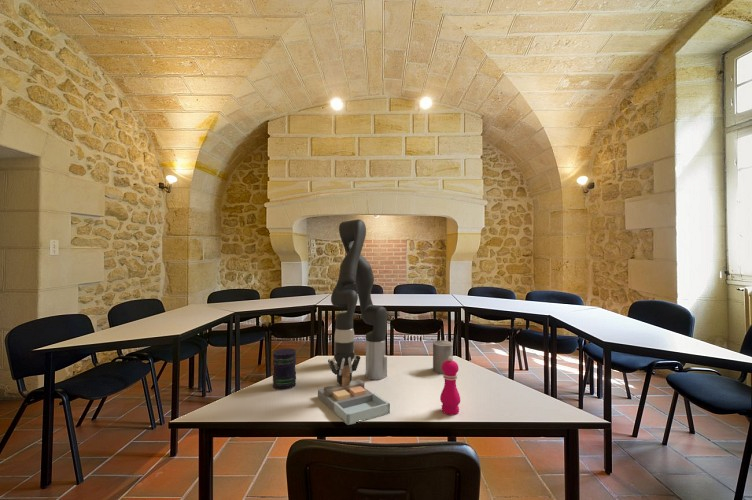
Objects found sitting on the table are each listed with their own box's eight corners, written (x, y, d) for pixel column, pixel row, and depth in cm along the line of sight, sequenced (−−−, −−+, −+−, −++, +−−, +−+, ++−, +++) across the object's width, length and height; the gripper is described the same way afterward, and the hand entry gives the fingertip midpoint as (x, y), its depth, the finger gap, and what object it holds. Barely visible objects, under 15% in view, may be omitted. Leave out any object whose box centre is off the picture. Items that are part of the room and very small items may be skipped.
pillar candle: (432, 366, 177) (432, 337, 177) (452, 367, 176) (452, 338, 176) (433, 373, 167) (433, 342, 167) (453, 374, 166) (453, 343, 166)
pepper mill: (456, 417, 122) (456, 360, 122) (437, 412, 126) (437, 357, 126) (463, 409, 128) (462, 355, 128) (444, 405, 132) (444, 352, 132)
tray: (374, 402, 135) (374, 393, 135) (389, 413, 125) (389, 403, 125) (334, 412, 126) (334, 402, 126) (347, 425, 116) (347, 414, 116)
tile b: (344, 393, 136) (344, 389, 136) (350, 397, 131) (350, 394, 131) (332, 396, 133) (332, 392, 133) (338, 400, 129) (338, 396, 129)
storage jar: (278, 391, 145) (278, 356, 145) (268, 385, 152) (268, 351, 152) (300, 385, 151) (300, 351, 151) (289, 379, 159) (289, 347, 159)
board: (355, 388, 148) (355, 381, 148) (374, 402, 135) (374, 394, 135) (317, 396, 139) (317, 389, 139) (334, 412, 126) (334, 404, 126)
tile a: (360, 389, 139) (360, 386, 139) (366, 394, 135) (366, 390, 135) (349, 392, 137) (349, 388, 137) (354, 396, 132) (354, 392, 132)
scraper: (359, 385, 144) (359, 360, 144) (364, 388, 140) (364, 362, 140) (323, 393, 135) (323, 366, 135) (327, 397, 132) (327, 369, 132)
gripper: (355, 335, 145) (355, 376, 145) (324, 339, 138) (324, 383, 137) (364, 339, 138) (364, 382, 138) (331, 344, 131) (331, 389, 131)
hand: (344, 382), depth 138 cm, fingers closed on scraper, 3 cm apart
